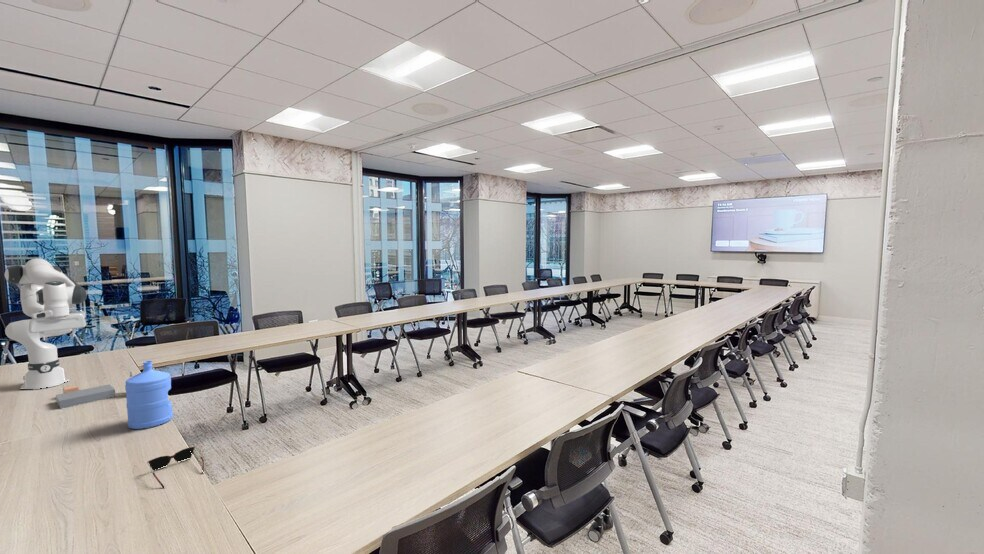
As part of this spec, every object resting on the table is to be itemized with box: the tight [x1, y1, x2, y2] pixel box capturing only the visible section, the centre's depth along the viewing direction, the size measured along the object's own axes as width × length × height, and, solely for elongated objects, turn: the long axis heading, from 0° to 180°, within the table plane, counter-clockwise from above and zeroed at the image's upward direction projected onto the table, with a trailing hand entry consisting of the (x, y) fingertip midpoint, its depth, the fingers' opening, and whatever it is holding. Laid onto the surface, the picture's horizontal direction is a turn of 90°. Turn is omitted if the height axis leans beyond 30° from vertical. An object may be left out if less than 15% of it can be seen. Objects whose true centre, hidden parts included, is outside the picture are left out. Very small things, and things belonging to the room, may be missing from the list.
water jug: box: [124, 360, 174, 430], centre depth 179 cm, size 16×16×28 cm
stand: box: [55, 384, 116, 410], centre depth 207 cm, size 13×20×4 cm, turn 143°
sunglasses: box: [146, 446, 205, 487], centre depth 140 cm, size 14×16×5 cm
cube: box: [62, 384, 80, 394], centre depth 211 cm, size 5×5×5 cm
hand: (59, 338), depth 208 cm, fingers open, 8 cm apart
